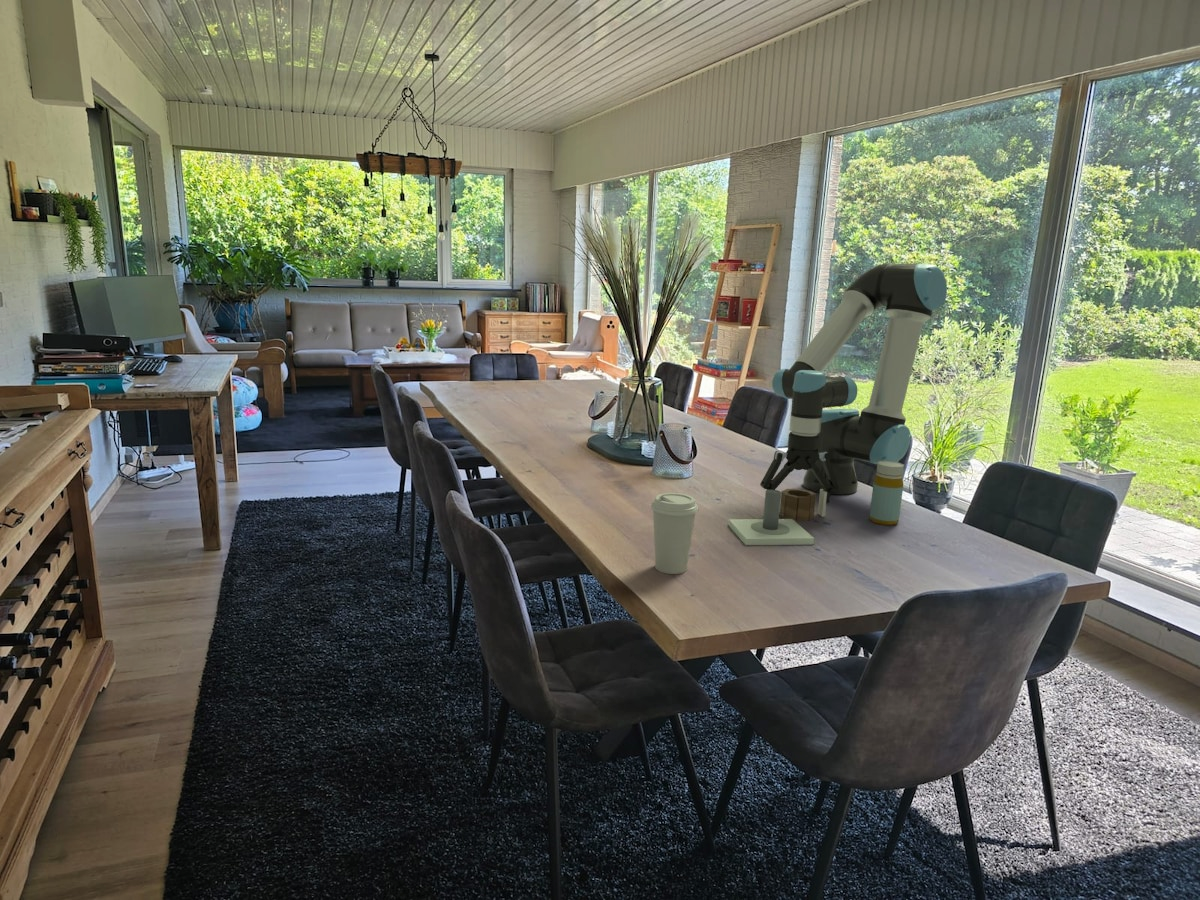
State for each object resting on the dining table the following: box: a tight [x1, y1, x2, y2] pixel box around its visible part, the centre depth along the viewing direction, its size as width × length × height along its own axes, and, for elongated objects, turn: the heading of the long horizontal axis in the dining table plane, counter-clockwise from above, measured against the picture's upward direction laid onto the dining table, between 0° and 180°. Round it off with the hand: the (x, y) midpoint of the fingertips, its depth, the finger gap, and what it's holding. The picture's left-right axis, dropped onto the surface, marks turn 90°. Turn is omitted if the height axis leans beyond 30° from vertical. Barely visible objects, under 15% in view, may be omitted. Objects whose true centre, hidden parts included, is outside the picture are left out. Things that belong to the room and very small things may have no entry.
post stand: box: [728, 489, 815, 546], centre depth 180 cm, size 16×14×10 cm
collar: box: [779, 488, 817, 522], centre depth 196 cm, size 8×8×6 cm
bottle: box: [869, 461, 905, 526], centre depth 193 cm, size 7×7×15 cm
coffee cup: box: [650, 492, 699, 575], centre depth 157 cm, size 10×10×15 cm
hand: (796, 515), depth 196 cm, fingers open, 12 cm apart
